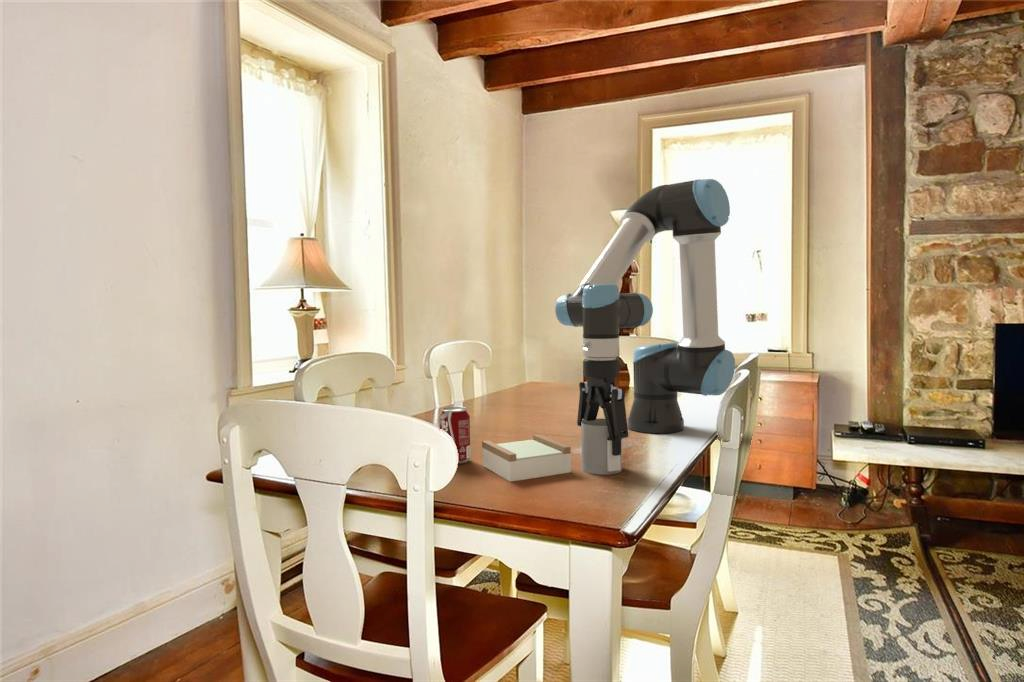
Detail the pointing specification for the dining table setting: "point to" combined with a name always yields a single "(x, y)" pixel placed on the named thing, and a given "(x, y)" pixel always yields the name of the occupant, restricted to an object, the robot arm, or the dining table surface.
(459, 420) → the soda can
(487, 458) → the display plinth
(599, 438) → the cup
